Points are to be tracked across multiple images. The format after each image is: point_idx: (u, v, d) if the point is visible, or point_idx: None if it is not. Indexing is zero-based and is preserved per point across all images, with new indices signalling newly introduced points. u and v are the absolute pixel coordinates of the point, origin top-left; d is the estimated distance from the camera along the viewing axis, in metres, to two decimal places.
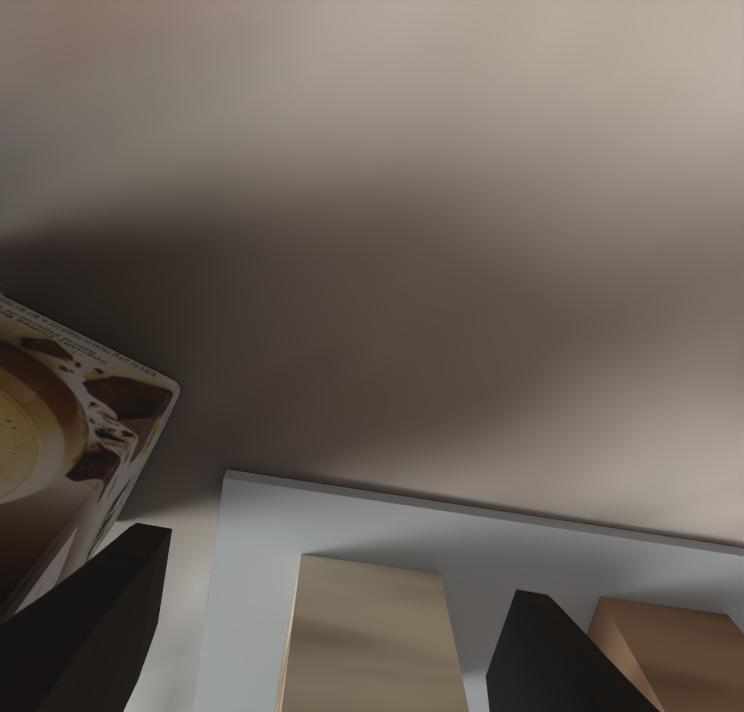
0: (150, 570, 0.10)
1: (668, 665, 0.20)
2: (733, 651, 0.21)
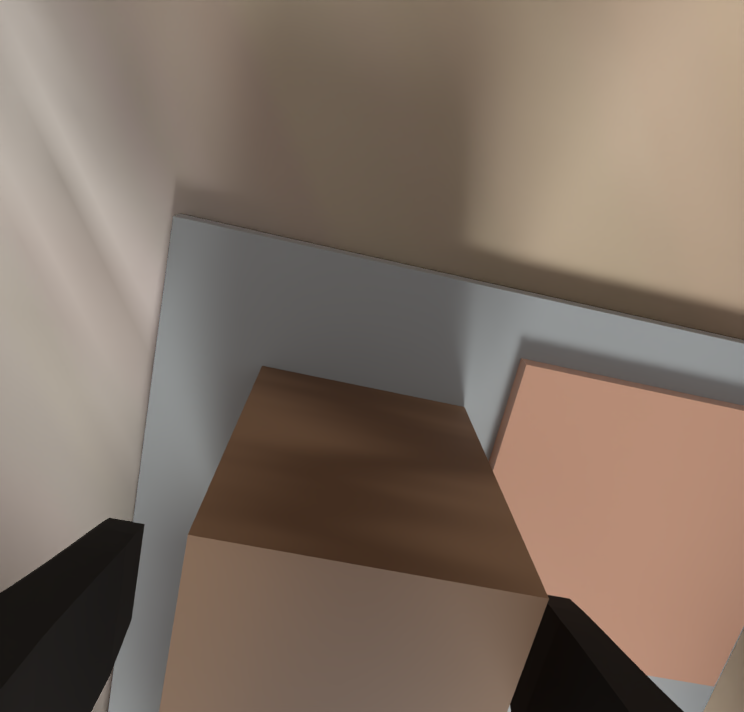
0: (120, 565, 0.10)
1: None
2: None
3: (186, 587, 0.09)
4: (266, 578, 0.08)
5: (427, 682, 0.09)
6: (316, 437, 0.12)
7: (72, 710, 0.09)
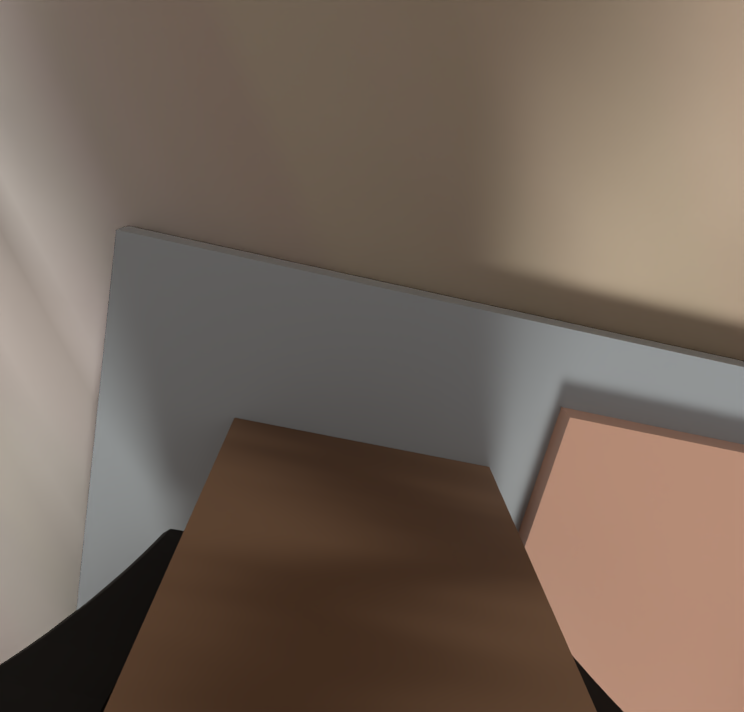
0: None
1: None
2: None
3: None
4: None
5: None
6: (299, 533, 0.09)
7: None
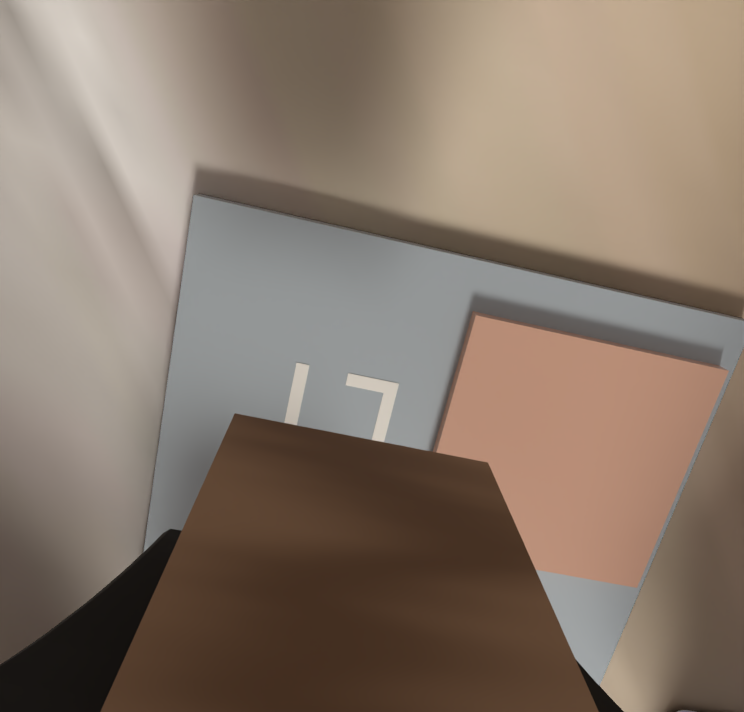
0: None
1: None
2: None
3: None
4: None
5: None
6: (299, 526, 0.09)
7: None
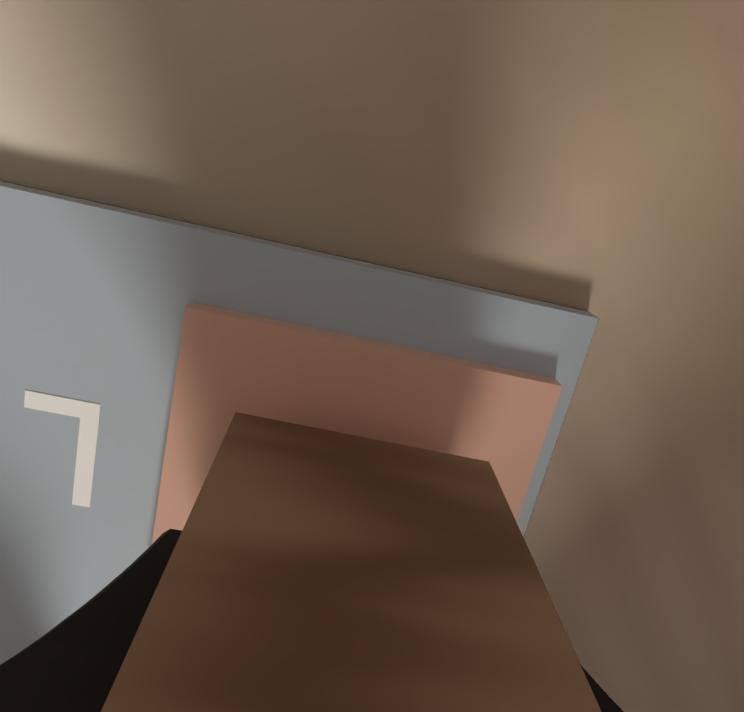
0: None
1: None
2: None
3: None
4: None
5: None
6: (300, 525, 0.09)
7: None
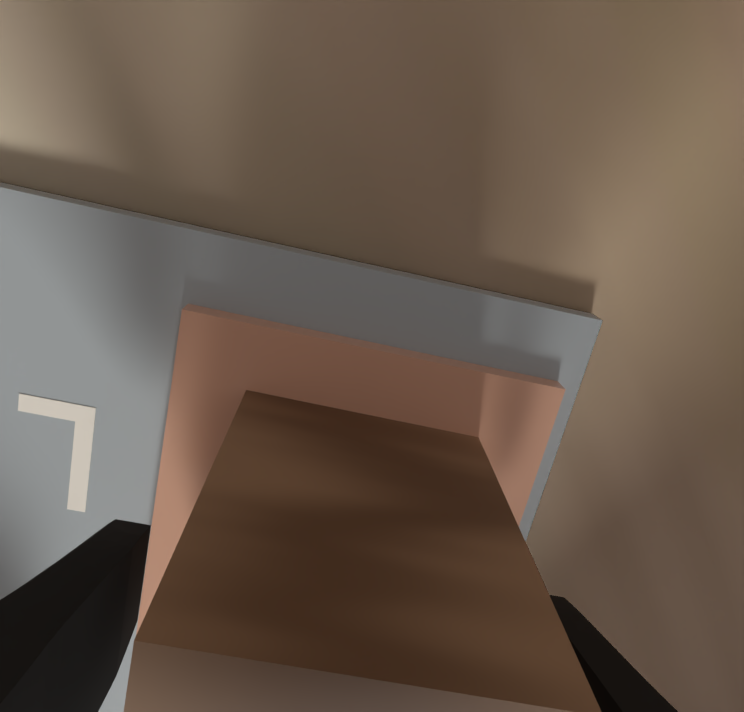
0: (126, 566, 0.10)
1: None
2: None
3: (134, 704, 0.07)
4: (238, 693, 0.07)
5: None
6: (307, 484, 0.10)
7: (79, 711, 0.09)
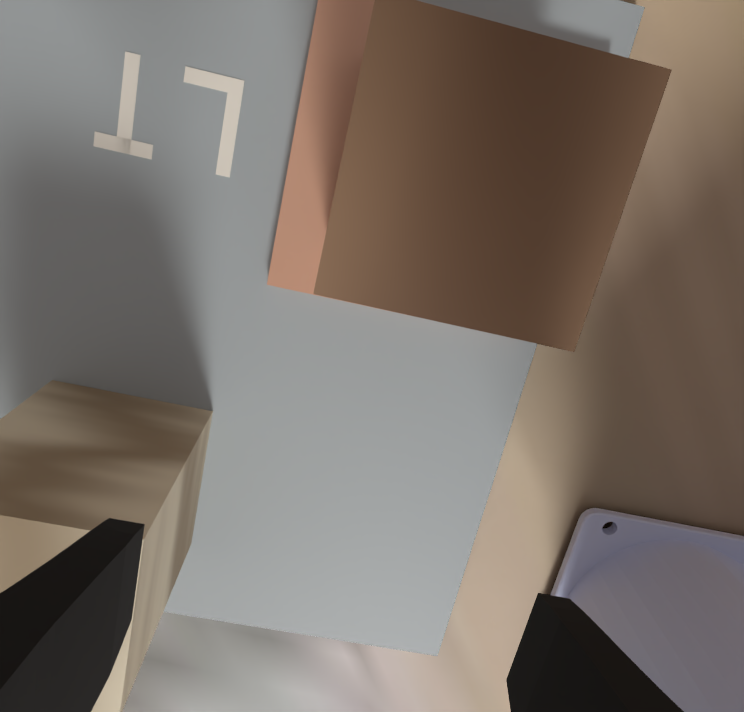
0: (120, 566, 0.10)
1: None
2: None
3: (370, 47, 0.10)
4: (438, 39, 0.10)
5: (564, 157, 0.11)
6: None
7: (72, 710, 0.09)
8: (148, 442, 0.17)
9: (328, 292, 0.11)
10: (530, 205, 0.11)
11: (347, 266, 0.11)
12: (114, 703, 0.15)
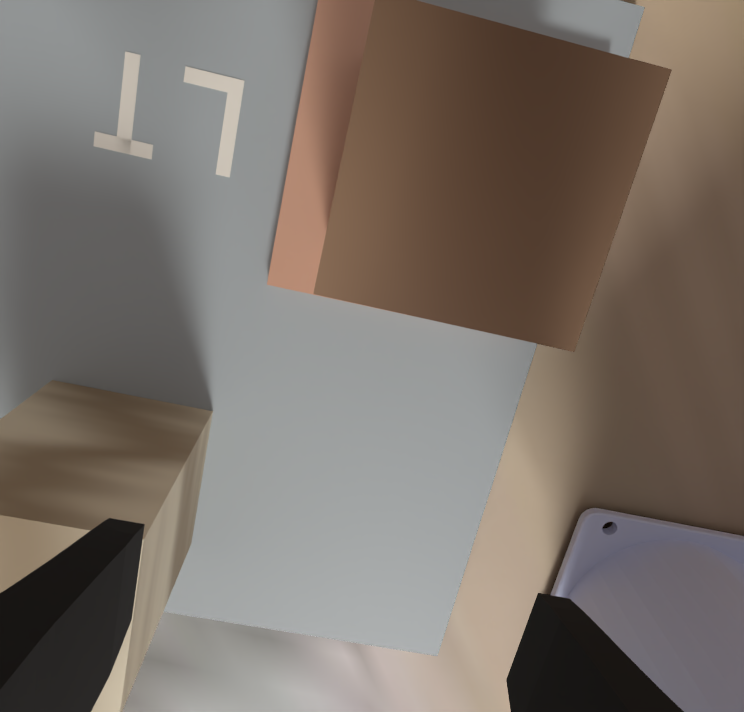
0: (120, 565, 0.10)
1: None
2: None
3: (370, 47, 0.10)
4: (438, 39, 0.10)
5: (564, 157, 0.11)
6: None
7: (72, 710, 0.09)
8: (148, 442, 0.17)
9: (328, 292, 0.11)
10: (530, 205, 0.11)
11: (347, 266, 0.11)
12: (114, 703, 0.15)
